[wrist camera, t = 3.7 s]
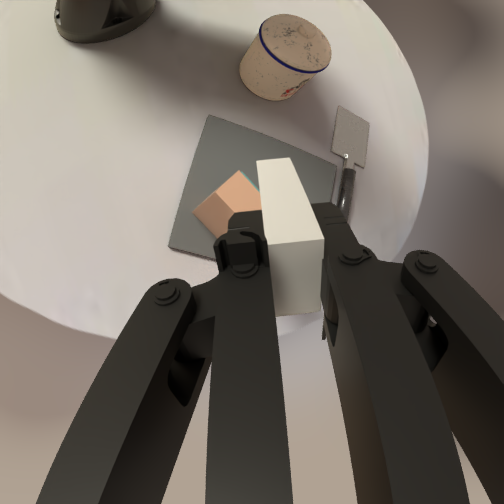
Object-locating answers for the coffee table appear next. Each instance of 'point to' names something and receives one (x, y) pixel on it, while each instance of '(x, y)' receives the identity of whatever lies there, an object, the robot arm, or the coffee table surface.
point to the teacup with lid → (284, 57)
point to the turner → (349, 152)
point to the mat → (227, 164)
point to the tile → (228, 203)
